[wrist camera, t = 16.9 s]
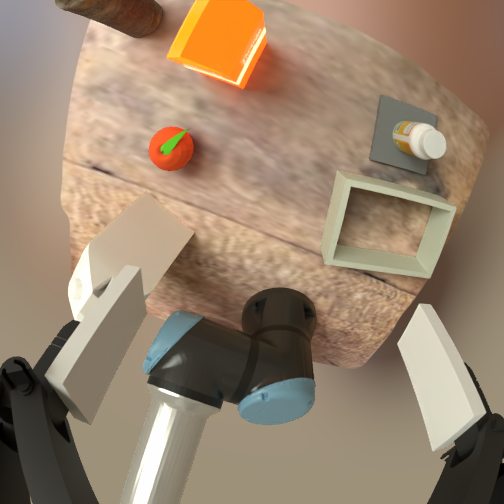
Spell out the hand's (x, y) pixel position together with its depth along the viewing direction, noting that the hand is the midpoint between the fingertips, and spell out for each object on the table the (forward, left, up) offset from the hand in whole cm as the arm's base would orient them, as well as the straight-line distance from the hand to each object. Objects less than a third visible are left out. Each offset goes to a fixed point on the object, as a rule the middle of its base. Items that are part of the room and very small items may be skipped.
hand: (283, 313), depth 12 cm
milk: (-15, +21, -35) cm, 43 cm away
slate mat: (+10, -20, -35) cm, 41 cm away
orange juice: (+17, +9, -35) cm, 40 cm away
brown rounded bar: (+25, +25, -35) cm, 50 cm away
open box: (-6, -20, -35) cm, 40 cm away
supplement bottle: (+10, -20, -34) cm, 41 cm away
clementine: (+2, +16, -35) cm, 38 cm away
